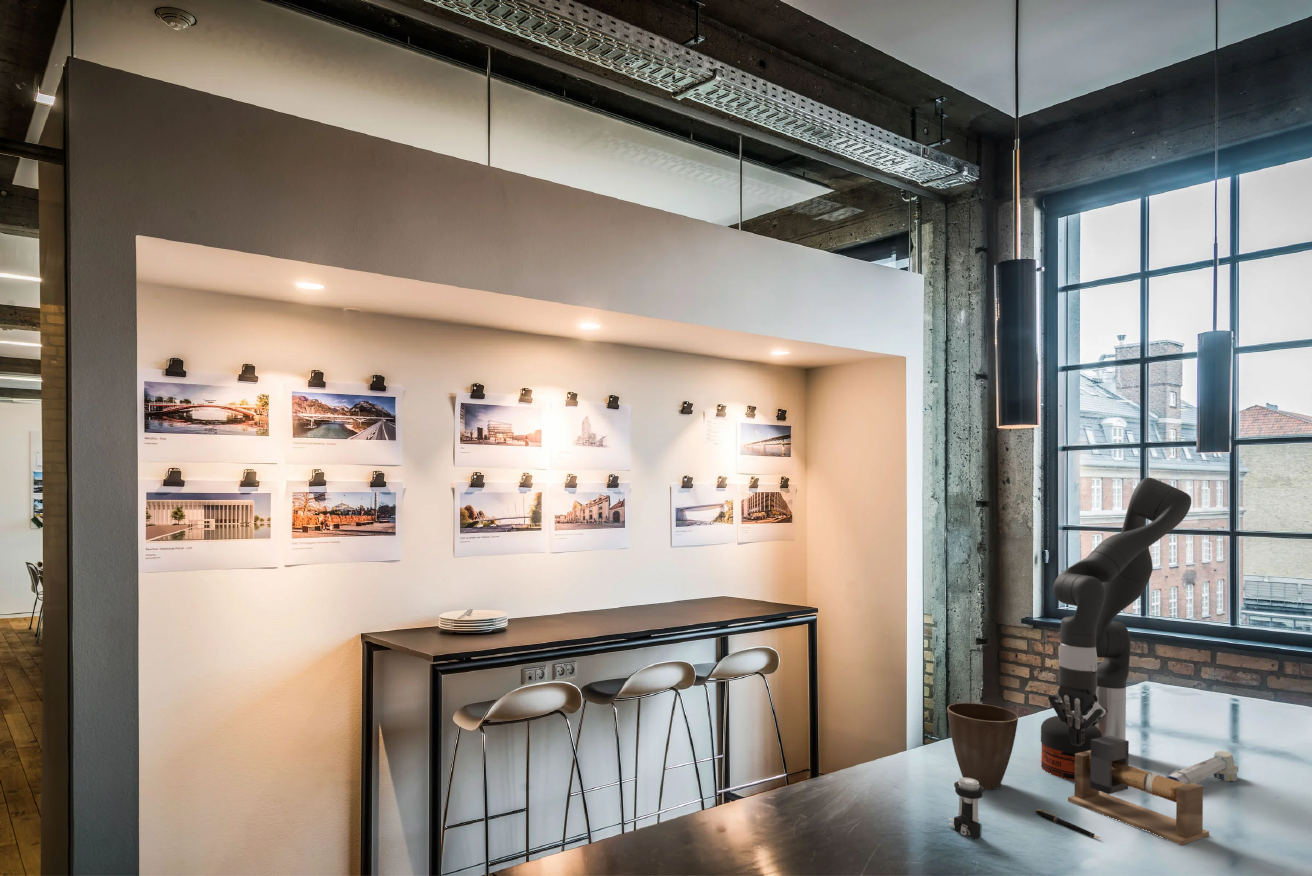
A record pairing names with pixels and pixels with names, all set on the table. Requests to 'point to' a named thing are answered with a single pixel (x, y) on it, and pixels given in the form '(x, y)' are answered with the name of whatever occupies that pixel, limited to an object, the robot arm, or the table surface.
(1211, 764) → the toothbrush head
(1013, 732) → the plant pot
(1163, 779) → the pipe
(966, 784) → the push button
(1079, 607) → the robot arm
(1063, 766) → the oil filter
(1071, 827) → the fountain pen
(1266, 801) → the table surface
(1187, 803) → the stand
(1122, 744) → the collar
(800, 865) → the table surface
